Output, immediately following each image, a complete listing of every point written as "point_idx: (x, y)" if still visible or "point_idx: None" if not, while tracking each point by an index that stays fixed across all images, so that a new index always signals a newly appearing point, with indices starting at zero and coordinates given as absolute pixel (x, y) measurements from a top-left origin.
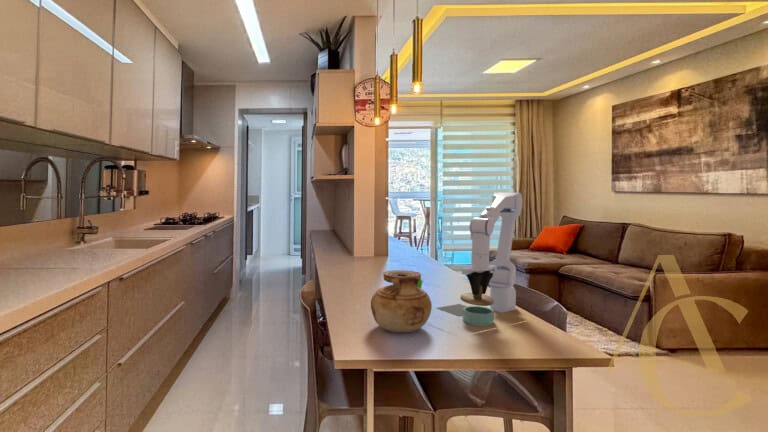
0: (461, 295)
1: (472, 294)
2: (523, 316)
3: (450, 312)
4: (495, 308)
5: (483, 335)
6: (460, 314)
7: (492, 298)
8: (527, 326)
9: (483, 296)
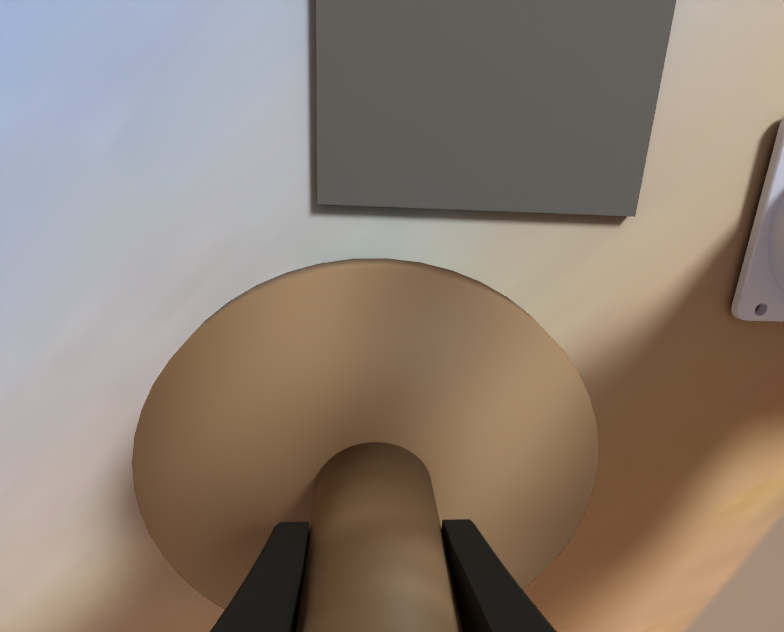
0: (214, 332)
1: (439, 362)
2: (777, 447)
3: (336, 52)
4: (778, 249)
5: (178, 578)
6: (375, 169)
7: (547, 560)
8: (577, 586)
9: (512, 478)
